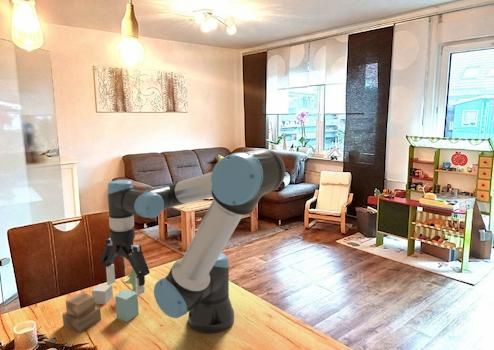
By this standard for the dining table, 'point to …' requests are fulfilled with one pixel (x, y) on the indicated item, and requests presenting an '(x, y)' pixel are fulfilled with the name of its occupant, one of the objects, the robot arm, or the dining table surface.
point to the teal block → (127, 305)
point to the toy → (132, 279)
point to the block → (102, 293)
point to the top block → (80, 305)
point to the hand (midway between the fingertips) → (125, 288)
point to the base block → (82, 320)
